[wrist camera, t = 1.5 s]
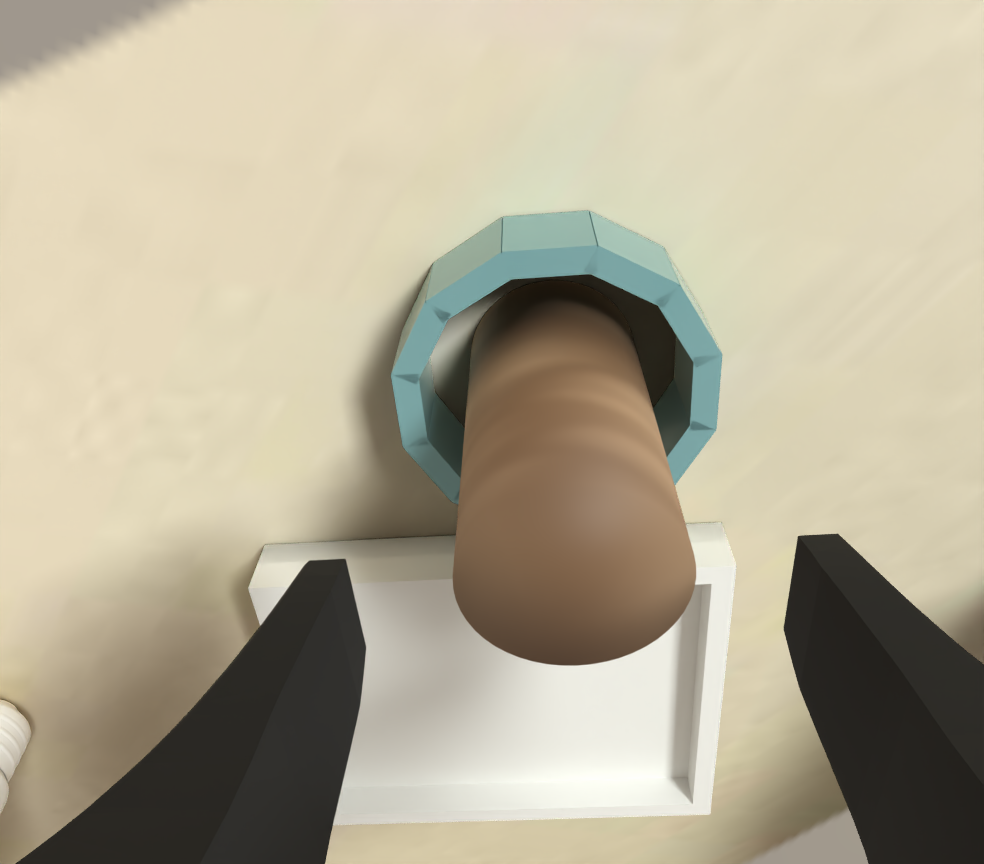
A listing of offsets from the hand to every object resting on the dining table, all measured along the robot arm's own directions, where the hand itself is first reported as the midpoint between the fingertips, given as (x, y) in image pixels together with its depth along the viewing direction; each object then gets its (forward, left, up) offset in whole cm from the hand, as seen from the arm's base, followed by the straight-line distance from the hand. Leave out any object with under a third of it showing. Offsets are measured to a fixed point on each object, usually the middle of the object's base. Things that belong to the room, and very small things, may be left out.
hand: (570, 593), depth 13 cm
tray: (+2, +11, -8) cm, 14 cm away
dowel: (0, 0, -8) cm, 8 cm away
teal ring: (0, 0, -8) cm, 8 cm away
